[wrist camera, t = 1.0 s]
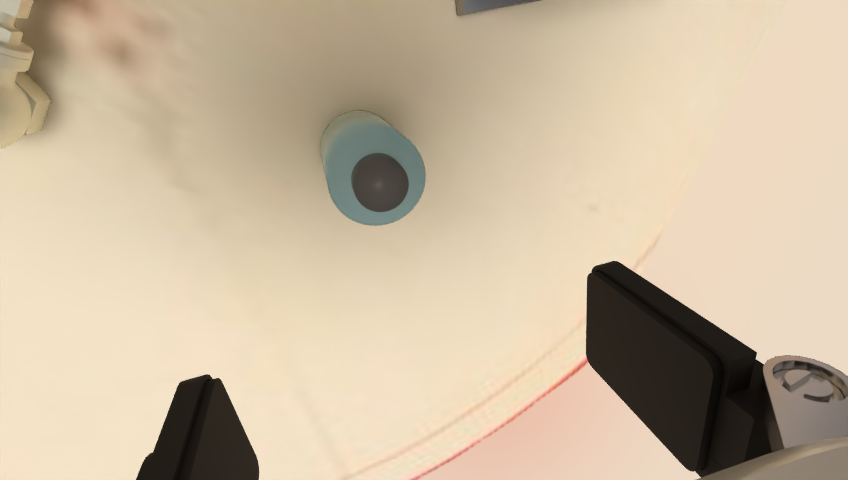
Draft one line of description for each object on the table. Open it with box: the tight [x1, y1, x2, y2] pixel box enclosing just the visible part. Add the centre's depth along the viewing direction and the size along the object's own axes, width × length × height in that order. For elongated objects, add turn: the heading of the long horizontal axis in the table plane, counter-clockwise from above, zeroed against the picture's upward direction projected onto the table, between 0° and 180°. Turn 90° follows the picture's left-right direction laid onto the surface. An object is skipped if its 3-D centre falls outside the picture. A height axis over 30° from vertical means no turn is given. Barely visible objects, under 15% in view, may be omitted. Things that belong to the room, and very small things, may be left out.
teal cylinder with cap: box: [321, 111, 425, 226], centre depth 26 cm, size 5×5×9 cm
